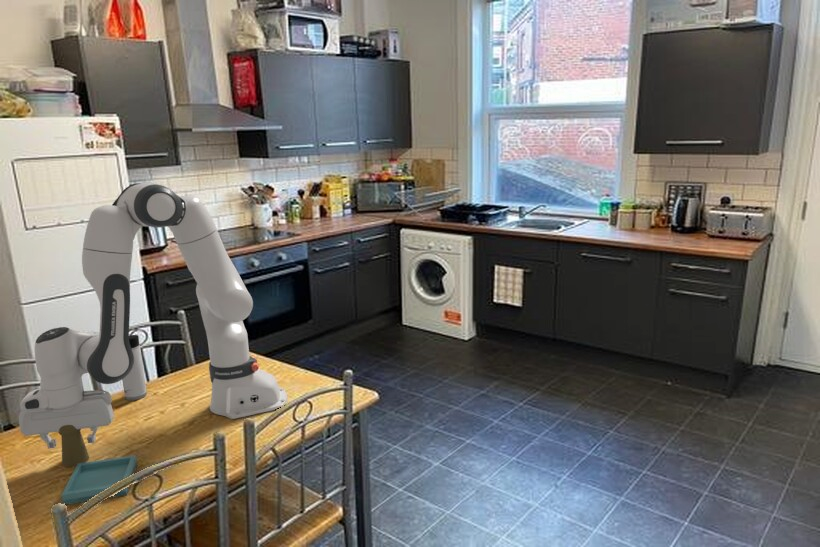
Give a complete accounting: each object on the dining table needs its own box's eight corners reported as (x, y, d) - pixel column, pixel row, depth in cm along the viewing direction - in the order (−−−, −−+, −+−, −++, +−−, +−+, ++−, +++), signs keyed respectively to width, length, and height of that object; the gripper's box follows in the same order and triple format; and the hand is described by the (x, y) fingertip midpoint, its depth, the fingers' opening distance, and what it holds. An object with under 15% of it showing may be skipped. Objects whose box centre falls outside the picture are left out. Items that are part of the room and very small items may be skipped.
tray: (137, 464, 147) (135, 455, 146) (126, 495, 134) (125, 485, 134) (79, 472, 144) (77, 463, 143) (63, 505, 131) (61, 495, 131)
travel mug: (124, 402, 180) (115, 340, 175) (125, 394, 186) (115, 333, 181) (147, 398, 182) (138, 337, 177) (146, 390, 188) (138, 330, 183)
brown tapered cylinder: (77, 468, 146) (70, 427, 143) (56, 465, 147) (48, 425, 144) (94, 455, 151) (88, 415, 149) (74, 452, 153) (67, 414, 150)
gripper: (112, 383, 150) (120, 432, 153) (21, 393, 145) (31, 444, 149) (106, 393, 144) (114, 445, 147) (11, 404, 139) (22, 457, 143)
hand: (72, 444), depth 148 cm, fingers open, 8 cm apart
